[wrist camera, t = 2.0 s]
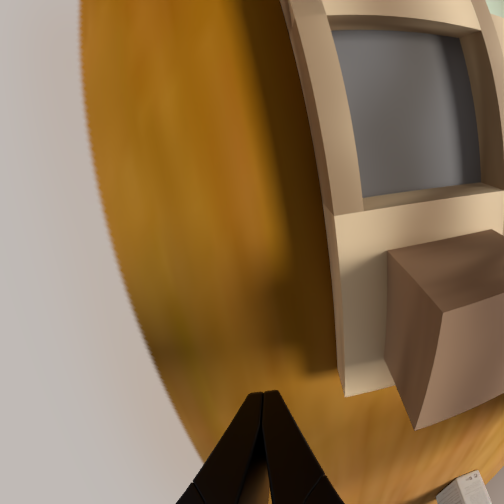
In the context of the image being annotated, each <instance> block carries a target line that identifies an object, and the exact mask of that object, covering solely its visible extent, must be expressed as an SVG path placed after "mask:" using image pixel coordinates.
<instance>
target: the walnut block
mask: <svg viewBox="0 0 504 504" xmlns="http://www.w3.org/2000/svg"><path fill="white" fill-rule="evenodd" d="M384 360H385V362H386V365H387V367H388V369H389V371H390V374H391V376H392V378H393V380H394V383H395V385H396V387H397V390H398V392H399V394H400V397H401V399H402V401H403V404H404V406H405V409H406V411H407V414H408V416H409V418H410V421H411V423H412V426H413V429H414V431H415V430H418V429H421V428H424V427H427V426H430V425H433V424H435V423H438V422H441V421H443V420H446V419H448V418H451V417H453V416H456V415H458V414H460V413H463V412H465V411H467V410H470V409H472V408H474V407H476V406H478V405H480V404H483V403H485V402H487V401H489V400H491V399H493V398H495V397H497V396H499V395H501V394H502V393H504V236H503V235H501V234H500V233H498V232H496V231H494V230H493V229H489V230H485V231H480V232H475V233H471V234H466V235H461V236H456V237H452V238H447V239H442V240H437V241H432V242H427V243H422V244H417V245H412V246H407V247H402V248H397V249H392V250H387V317H386V337H385V351H384Z"/></svg>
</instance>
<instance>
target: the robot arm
mask: <svg viewBox="0 0 504 504" xmlns="http://www.w3.org/2000/svg"><path fill="white" fill-rule="evenodd" d="M269 488H270V492H271V499H272V504H345V503H344V502H343V501H342V499H341V498H340V497H339V495H338V494H337V492H336V491H335V489H334V488H333V486H332V484H331V483H330V481H329V479H328V478H327V476H326V475H325V473H324V471H323V469H322V468H321V466H320V464H319V463H318V461H317V459H316V457H315V456H314V454H313V452H312V450H311V449H310V447H309V445H308V443H307V442H306V440H305V438H304V436H303V435H302V433H301V431H300V429H299V427H298V426H297V424H296V422H295V420H294V418H293V417H292V415H291V413H290V411H289V409H288V407H287V406H286V404H285V402H284V400H283V398H282V396H281V395H280V393H279V391H278V390H272V391H265V392H264V393H263V392H254V393H250V394H248V396H247V397H246V399H245V401H244V402H243V404H242V406H241V407H240V409H239V411H238V412H237V414H236V415H235V417H234V419H233V420H232V422H231V423H230V425H229V427H228V428H227V430H226V431H225V433H224V434H223V436H222V438H221V439H220V441H219V442H218V444H217V445H216V447H215V448H214V450H213V451H212V453H211V454H210V456H209V457H208V459H207V460H206V462H205V463H204V465H203V466H202V468H201V469H200V471H199V472H198V474H197V475H196V477H195V478H194V480H193V483H191V484H190V485H189V487H188V488H187V489H186V491H185V492H184V494H183V495H182V496H181V498H180V499H179V500H178V501H177V503H176V504H268V498H269Z"/></svg>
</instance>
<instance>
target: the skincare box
mask: <svg viewBox="0 0 504 504" xmlns="http://www.w3.org/2000/svg"><path fill="white" fill-rule="evenodd" d="M436 500H437V503H438V504H492V503H491V500H490V498H489V495H488V492H487V490H486V487H485V485H484V482H483V480H482V477H481V475H480V473H479V471H478V470H476V471H473V472H470V473H467V474H465V475H462V476H460V477H458V478H456V479H455V480H454V481H453V482H452V483H451V484H449V485H448V486H447V487H446V488H445V489H444V490H442V491H441V492H440V493H439V494H438V495H437V496H436Z"/></svg>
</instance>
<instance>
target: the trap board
mask: <svg viewBox="0 0 504 504" xmlns="http://www.w3.org/2000/svg"><path fill="white" fill-rule="evenodd" d="M280 3H281V7H282V10H283V14H284V17H285V21H286V25H287V28H288V32H289V36H290V40H291V44H292V48H293V52H294V56H295V60H296V64H297V68H298V73H299V77H300V81H301V86H302V90H303V95H304V100H305V105H306V109H307V114H308V119H309V125H310V130H311V135H312V141H313V146H314V152H315V158H316V164H317V170H318V176H319V182H320V189H321V196H322V203H323V210H324V217H325V225H326V233H327V241H328V250H329V259H330V269H331V279H332V290H333V302H334V315H335V330H336V347H337V369H338V373H339V376H340V380H341V384H342V388H343V392H344V396H345V397H349V396H353V395H358V394H362V393H366V392H371V391H375V390H379V389H382V388H386V387H390V386H394V385H395V383H394V380H393V378H392V376H391V374H390V371H389V369H388V367H387V365H386V362H385V360H384V351H385V337H386V317H387V250H392V249H397V248H402V247H407V246H412V245H417V244H422V243H427V242H432V241H437V240H442V239H447V238H452V237H456V236H461V235H466V234H471V233H475V232H480V231H485V230H489V229H493V230H494V231H496V232H498V233H500V234H501V235H503V236H504V0H280Z"/></svg>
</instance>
